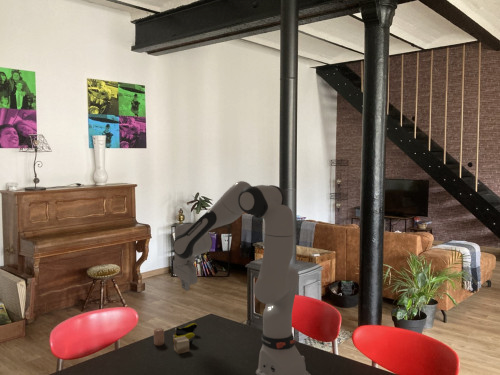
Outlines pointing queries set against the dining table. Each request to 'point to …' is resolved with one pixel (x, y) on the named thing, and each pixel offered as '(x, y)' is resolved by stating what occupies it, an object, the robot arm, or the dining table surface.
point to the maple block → (181, 344)
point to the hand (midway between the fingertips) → (185, 289)
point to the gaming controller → (186, 332)
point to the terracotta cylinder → (159, 336)
